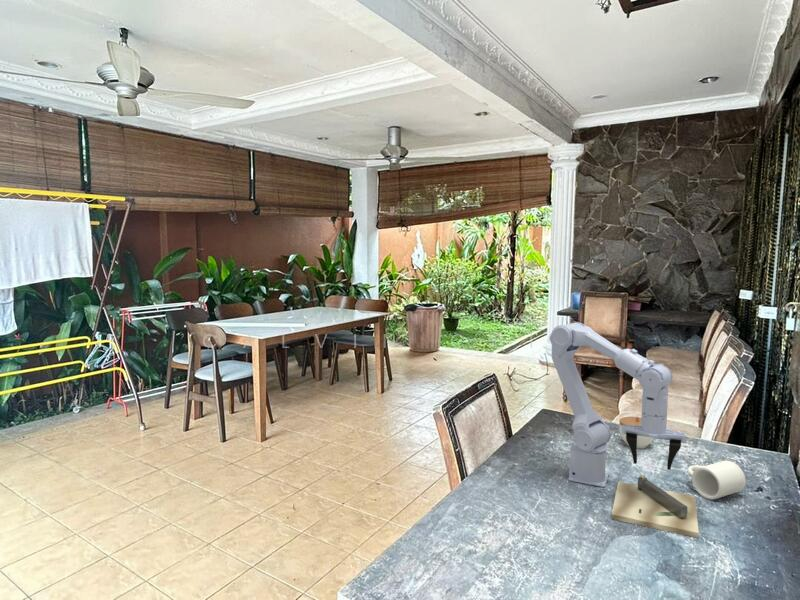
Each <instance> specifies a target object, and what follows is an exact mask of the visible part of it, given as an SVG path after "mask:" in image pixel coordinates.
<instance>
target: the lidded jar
mask: <svg viewBox="0 0 800 600" xmlns="http://www.w3.org/2000/svg"><path fill="white" fill-rule="evenodd" d="M622 425H635V426H641V417H640V416H623V417H621V418H620V419H619V432H620V437H621V438H622V440H623V441H624V443H625V444H626V446H629V444H628V442H627V440H626V435H625V434H622ZM653 440H654V438H651V437H645V436H638V435H637V449H646V448H647V447H648V446H649V445H650V444H651V443H652V442H653Z"/></svg>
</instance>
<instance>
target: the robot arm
mask: <svg viewBox="0 0 800 600" xmlns="http://www.w3.org/2000/svg"><path fill="white" fill-rule="evenodd" d="M548 338H549V341H550V344H551V359H552V362H553V365H554V367H555V369H556V372H557V376H558V378H559V381H560V382H561V385H562V388H563V390H564V393H565V396H566V398H567V401H568V404H569V406H570V408H571V410H572V413H573V416H574V419H573V422H572V426H571V428H572V430H573V440H574V441H573V442H574V443H575V444H572V445H570V451H569V467H568V481H570V482H575V483H580V484H586V485H591V486H596V487H600V488H601V487H602V488H605V487H606V485H607V480H608V476H609V475H608V474H607V473H606V460H607V443H608V442H610V440H611V439H612V432H611V429H610V427H609V426H608V425H607V423H605V422H604V419H603V418H602V416H601V415H600V414H598V412H596V411H595V410H594V408H593V405H592V402H591V400H590V398H589V394H588V393H587V389H586V387H585V385H584V383H583V380H582V378H581V375H580V373H579V370H578V368H577V365H576V363H575V360H574V357H575V355H576V353H577V351H578V349H580V347H589V348H591V349H593V350H595V351H597V352H598V353H600V354H602V355H604V356H606V357H608V358H610V359H612V361H614V365H615V367H616V368H617V369H620V370H621V371H622V372H624V373H626V374H627V375H629V376H630V377H632V378H634V379H636V380H637V381H638V382H639V385H640V386H641V388H642V395H641V396H642V397H641V415H640V416H641V417H640V418H641V426H635V425H622V434H625V435H626V440H627V442H628V444H629V450H630V452H631V456H632V460H633V461H632V462H633V464H635V465H637V462H638V450H637V449H638V448H637V435H638V436H645V437H651V438H653V439H660V440H665V441H668V442H669V444H668V455H667V456H668V457H667V462H666V463H667V464H666V465H667V467H666V468H667V470H671V468H672V465H673V461H674V459H675V457H676V455H677V453H678V452H679V451H680V449H681V447H682V444H687V433H685V432H679V431H676V430H675V431H674V430H672V429H668V428H667V420H668V405H669V404H668V403H669V402H668V401H669V385H670V384H671V383H672V381H673V374H672V373H673V372H672V370H671V369H670V368H669V367H668V366H666V364H663V363H655V361H654V360H653V359H650V360H649V359H648V358H646V357H644V356H643V355H640V354H639V353H638V350H636V349H635V348H632V349H630V348H624V349H622V348H620V347H619V346H617V345H616V344H614V343H612V342H611V341H609V340H608V339H606V338H605V337H603V336H602V335H600V334H599V333H597V332H595V331H594V330H593V329H592V327H590V326H587V325H585V324H584V323H582V322H579V321H575V322H572V323H568V324H560V325H556V326H555V327H554V328H553V329H552V331H551V333H550V335H549V336H548Z"/></svg>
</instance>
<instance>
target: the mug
mask: <svg viewBox="0 0 800 600" xmlns="http://www.w3.org/2000/svg"><path fill="white" fill-rule="evenodd" d="M686 473H687V475H689V477H691V481H692V485H693V488H694V490H696V492H697V493H698V494H699V495H700V496H701V497H703V498H704V499H707V500H712V501H713V500H717V499H720V498H722V497H726V496H729V495H732V494H735V493H739V492H741V491H743V489H745V486H746V482H747V481H746V480H747V479H746V476H745V473H744V472H743V469H741V468H740V466H738V465H737V463H735V462H732V461H730V460H721V461H718V462H715V463H711V464H710V463H709V464H707V465H697V464H695V465H691V466H690V465H689V466H688V468H687V469H686Z"/></svg>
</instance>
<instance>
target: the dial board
mask: <svg viewBox="0 0 800 600" xmlns="http://www.w3.org/2000/svg"><path fill="white" fill-rule="evenodd" d="M616 485H617V486H616V490H615V496H614V500H613V505H612V511H611V520H613V521H619V522H624V523H629V524H633V525H637V526H641V527H646V528H651V529H656V530H660V531H665V532H668V533H674V534H679V535H682V536H687V537H692V538H695V539H696V538H697V539H699V538H700V537H699V535H700V534H699V533H700V531H699V523H698V515H697V506H696V500H695V499H696V497H695V495H691V494H686V493H680V492H676V491H670V490H664V489H662V490H663V491H665V492H666V493H668V494H669V495H671V496H672V497H674V498H675V499H676V500H678V501H679V502H681V503H682V504H684V505H685V506H687V518H680V517H679V516H677V515H676V514H674V513H673V512H672V511H670V510H669V509H667V508H666V507H665V506H663V505H662V504H660V503H659V502H658V501H656V500H655V499H653V498H652V497H651V496H649V495H648V494H646V493H645V492H644V491H642V490H639V489H638V484H631V483H627V482H622V481H617V484H616Z"/></svg>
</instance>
